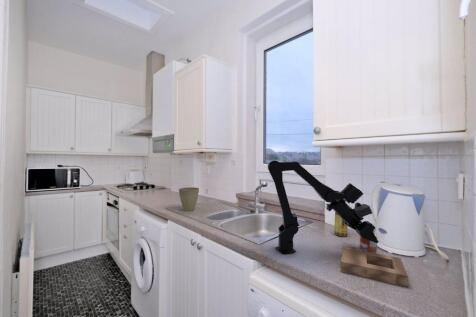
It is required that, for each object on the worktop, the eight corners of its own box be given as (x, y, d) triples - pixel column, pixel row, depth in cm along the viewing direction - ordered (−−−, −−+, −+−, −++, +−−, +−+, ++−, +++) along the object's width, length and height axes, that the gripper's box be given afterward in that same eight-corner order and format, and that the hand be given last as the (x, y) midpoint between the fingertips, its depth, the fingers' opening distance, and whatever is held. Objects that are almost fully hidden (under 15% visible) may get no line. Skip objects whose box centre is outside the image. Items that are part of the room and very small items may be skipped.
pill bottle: (356, 251, 94) (356, 225, 94) (369, 250, 95) (370, 225, 95) (366, 257, 88) (366, 230, 88) (380, 257, 89) (380, 230, 89)
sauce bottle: (343, 238, 110) (344, 198, 109) (331, 234, 115) (332, 196, 114) (350, 235, 113) (350, 197, 113) (338, 231, 119) (339, 195, 118)
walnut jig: (340, 271, 78) (340, 261, 78) (343, 255, 90) (343, 247, 90) (407, 287, 68) (407, 276, 68) (400, 267, 81) (400, 258, 81)
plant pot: (186, 206, 174) (186, 186, 174) (202, 208, 168) (202, 188, 168) (174, 211, 160) (174, 189, 160) (191, 213, 154) (191, 190, 154)
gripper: (370, 202, 82) (400, 233, 82) (349, 194, 101) (374, 218, 100) (348, 222, 83) (378, 253, 82) (331, 210, 102) (356, 235, 101)
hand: (371, 238), depth 91 cm, fingers open, 9 cm apart
